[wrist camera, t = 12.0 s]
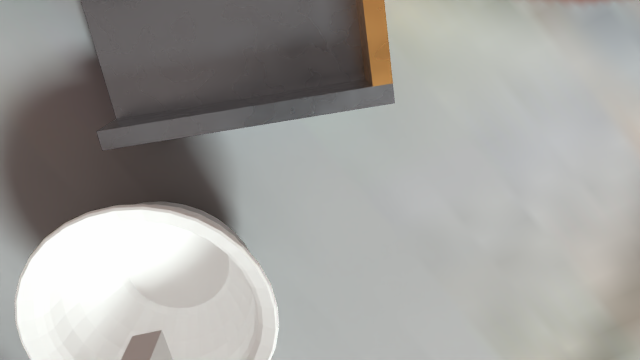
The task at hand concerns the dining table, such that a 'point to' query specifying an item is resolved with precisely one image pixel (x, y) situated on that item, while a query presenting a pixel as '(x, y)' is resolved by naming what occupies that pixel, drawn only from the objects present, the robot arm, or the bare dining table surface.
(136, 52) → the grey hollow tray
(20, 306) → the bowl
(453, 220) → the dining table surface
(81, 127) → the dining table surface
